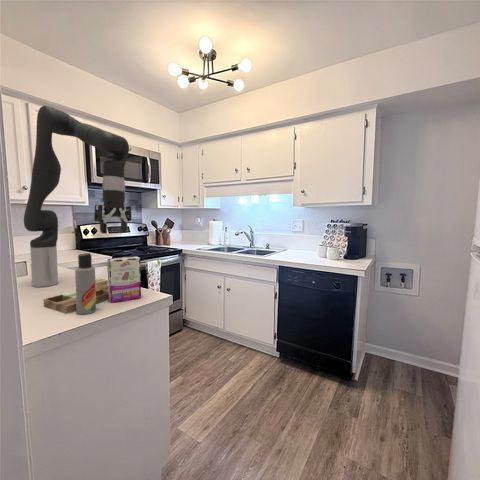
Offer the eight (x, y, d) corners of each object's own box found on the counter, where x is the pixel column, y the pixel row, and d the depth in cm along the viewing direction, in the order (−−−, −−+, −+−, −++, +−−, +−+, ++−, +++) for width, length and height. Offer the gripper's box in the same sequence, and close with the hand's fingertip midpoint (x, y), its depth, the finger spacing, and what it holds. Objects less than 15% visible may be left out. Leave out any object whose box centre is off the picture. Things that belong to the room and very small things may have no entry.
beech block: (88, 288, 104) (88, 280, 103) (99, 285, 108) (99, 278, 108) (96, 290, 102) (96, 282, 101) (107, 287, 106) (107, 280, 106)
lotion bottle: (98, 311, 87) (97, 253, 85) (79, 316, 83) (77, 255, 81) (92, 307, 91) (91, 251, 89) (74, 311, 87) (72, 253, 84)
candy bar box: (137, 295, 105) (137, 255, 104) (141, 298, 101) (141, 257, 100) (107, 299, 99) (107, 257, 97) (110, 303, 95) (109, 260, 93)
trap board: (43, 306, 90) (43, 299, 90) (100, 289, 110) (100, 284, 110) (66, 313, 85) (66, 306, 84) (122, 295, 104) (122, 289, 104)
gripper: (122, 191, 103) (122, 231, 105) (89, 187, 90) (89, 233, 92) (136, 191, 100) (136, 232, 102) (103, 187, 87) (103, 234, 89)
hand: (114, 232), depth 97 cm, fingers open, 8 cm apart
